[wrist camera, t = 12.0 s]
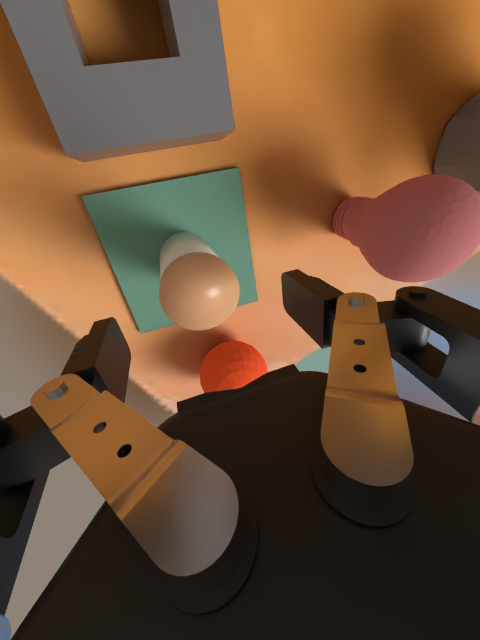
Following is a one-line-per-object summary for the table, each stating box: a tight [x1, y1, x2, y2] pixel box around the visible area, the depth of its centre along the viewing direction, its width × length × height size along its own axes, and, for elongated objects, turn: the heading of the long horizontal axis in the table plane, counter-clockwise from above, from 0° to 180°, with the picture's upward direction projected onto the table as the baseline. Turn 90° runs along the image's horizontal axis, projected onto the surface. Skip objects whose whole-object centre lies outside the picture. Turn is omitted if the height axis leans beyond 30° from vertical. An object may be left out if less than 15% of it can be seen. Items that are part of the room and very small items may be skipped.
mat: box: [81, 167, 258, 334], centre depth 22 cm, size 12×12×1 cm
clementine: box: [200, 341, 268, 393], centre depth 26 cm, size 8×7×7 cm
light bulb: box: [333, 175, 480, 282], centre depth 20 cm, size 7×7×12 cm
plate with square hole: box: [0, 0, 235, 162], centre depth 14 cm, size 12×10×4 cm
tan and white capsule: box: [159, 232, 240, 330], centre depth 18 cm, size 5×5×9 cm
